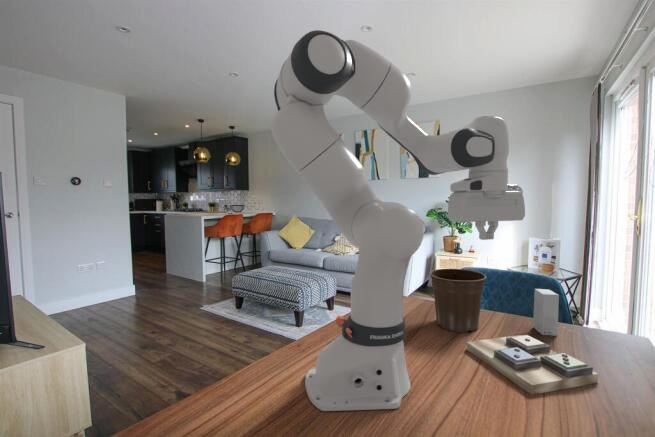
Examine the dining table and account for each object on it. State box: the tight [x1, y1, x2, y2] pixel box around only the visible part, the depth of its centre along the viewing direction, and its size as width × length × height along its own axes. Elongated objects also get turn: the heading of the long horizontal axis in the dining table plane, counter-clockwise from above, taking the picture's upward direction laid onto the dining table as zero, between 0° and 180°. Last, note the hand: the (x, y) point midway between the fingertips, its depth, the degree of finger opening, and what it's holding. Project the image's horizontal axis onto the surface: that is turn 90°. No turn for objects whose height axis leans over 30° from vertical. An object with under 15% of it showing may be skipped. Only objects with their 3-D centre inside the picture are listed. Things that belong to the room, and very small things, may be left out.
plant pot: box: [429, 268, 487, 333], centre depth 100 cm, size 16×16×16 cm
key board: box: [466, 334, 599, 396], centre depth 76 cm, size 17×20×4 cm
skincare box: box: [532, 288, 560, 337], centre depth 94 cm, size 6×4×12 cm
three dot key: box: [546, 352, 587, 370], centre depth 71 cm, size 5×5×2 cm
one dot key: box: [511, 334, 546, 348], centre depth 80 cm, size 5×5×2 cm
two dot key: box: [500, 347, 535, 363], centre depth 74 cm, size 5×5×2 cm
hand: (486, 239), depth 81 cm, fingers closed
